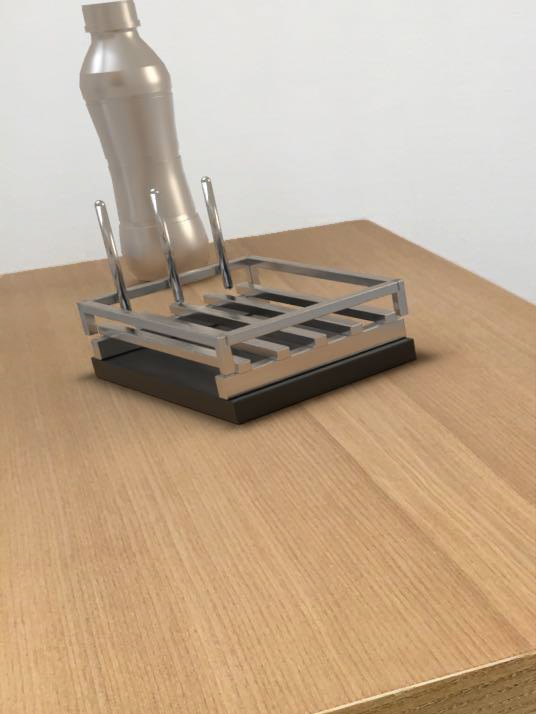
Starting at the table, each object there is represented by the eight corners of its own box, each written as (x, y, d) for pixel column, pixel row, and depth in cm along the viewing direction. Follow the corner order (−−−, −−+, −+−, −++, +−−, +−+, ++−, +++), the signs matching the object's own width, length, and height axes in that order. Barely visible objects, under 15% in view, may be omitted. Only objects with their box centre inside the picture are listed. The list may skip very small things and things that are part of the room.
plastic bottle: (186, 289, 92) (119, 1, 84) (111, 291, 94) (39, 10, 86) (231, 268, 98) (173, -6, 89) (160, 269, 100) (96, 3, 91)
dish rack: (95, 376, 74) (49, 208, 69) (263, 323, 81) (231, 168, 77) (238, 424, 63) (194, 229, 59) (417, 358, 70) (390, 180, 66)
